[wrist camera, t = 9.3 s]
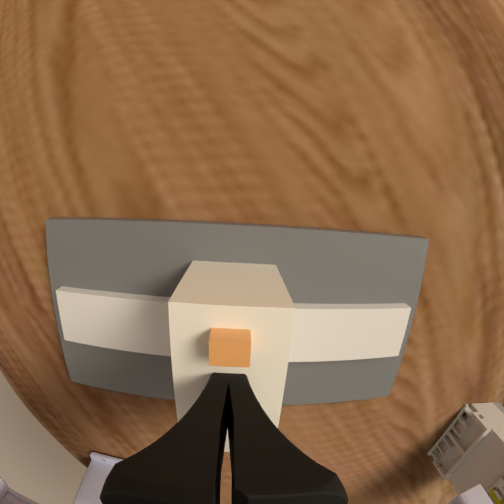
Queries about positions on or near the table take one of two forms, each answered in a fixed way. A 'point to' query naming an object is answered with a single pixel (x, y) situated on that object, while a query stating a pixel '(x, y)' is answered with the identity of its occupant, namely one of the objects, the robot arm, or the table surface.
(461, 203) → the table surface
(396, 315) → the din board
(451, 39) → the table surface
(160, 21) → the table surface
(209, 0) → the table surface
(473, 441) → the circuit breaker
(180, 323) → the block
